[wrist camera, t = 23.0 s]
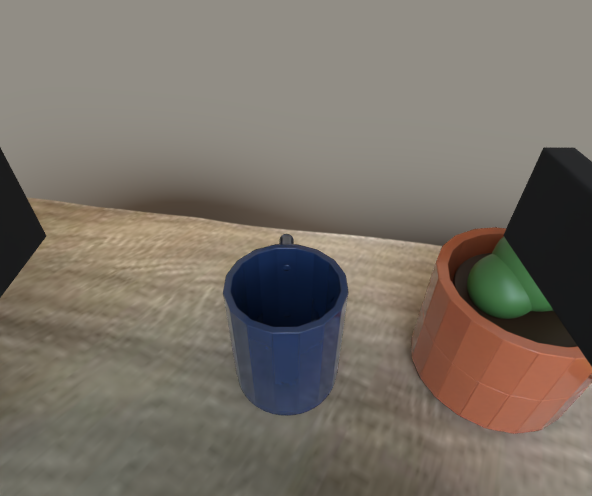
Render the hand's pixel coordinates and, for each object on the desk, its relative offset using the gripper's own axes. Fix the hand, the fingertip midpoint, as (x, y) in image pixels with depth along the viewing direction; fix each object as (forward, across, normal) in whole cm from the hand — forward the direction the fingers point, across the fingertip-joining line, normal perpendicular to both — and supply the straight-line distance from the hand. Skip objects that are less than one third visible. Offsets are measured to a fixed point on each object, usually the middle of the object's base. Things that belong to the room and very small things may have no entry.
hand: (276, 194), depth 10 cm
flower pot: (+10, +17, -23) cm, 30 cm away
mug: (+11, 0, -23) cm, 26 cm away
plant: (+10, +17, -15) cm, 24 cm away
